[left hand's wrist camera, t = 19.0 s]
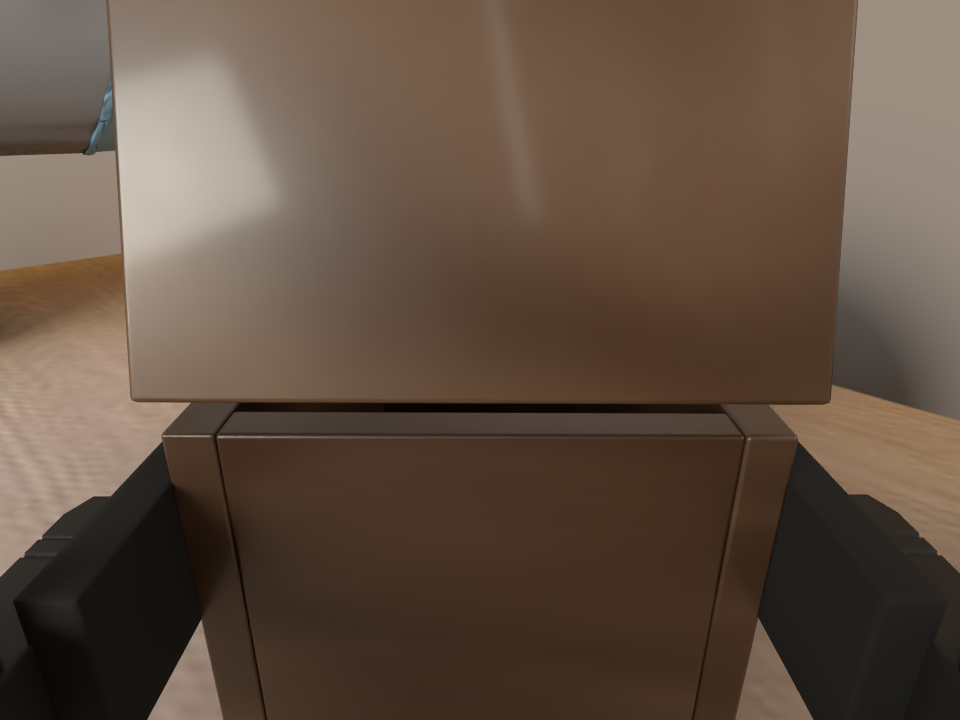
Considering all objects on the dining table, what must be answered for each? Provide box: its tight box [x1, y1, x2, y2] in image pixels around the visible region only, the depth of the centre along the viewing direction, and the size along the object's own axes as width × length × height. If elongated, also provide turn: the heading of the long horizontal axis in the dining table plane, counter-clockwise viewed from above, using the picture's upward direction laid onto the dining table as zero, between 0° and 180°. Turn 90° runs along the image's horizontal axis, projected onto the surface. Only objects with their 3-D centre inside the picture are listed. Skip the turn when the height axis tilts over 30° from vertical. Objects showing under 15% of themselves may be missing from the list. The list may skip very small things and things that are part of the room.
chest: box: [162, 402, 798, 720], centre depth 19 cm, size 16×10×9 cm, turn 0°
